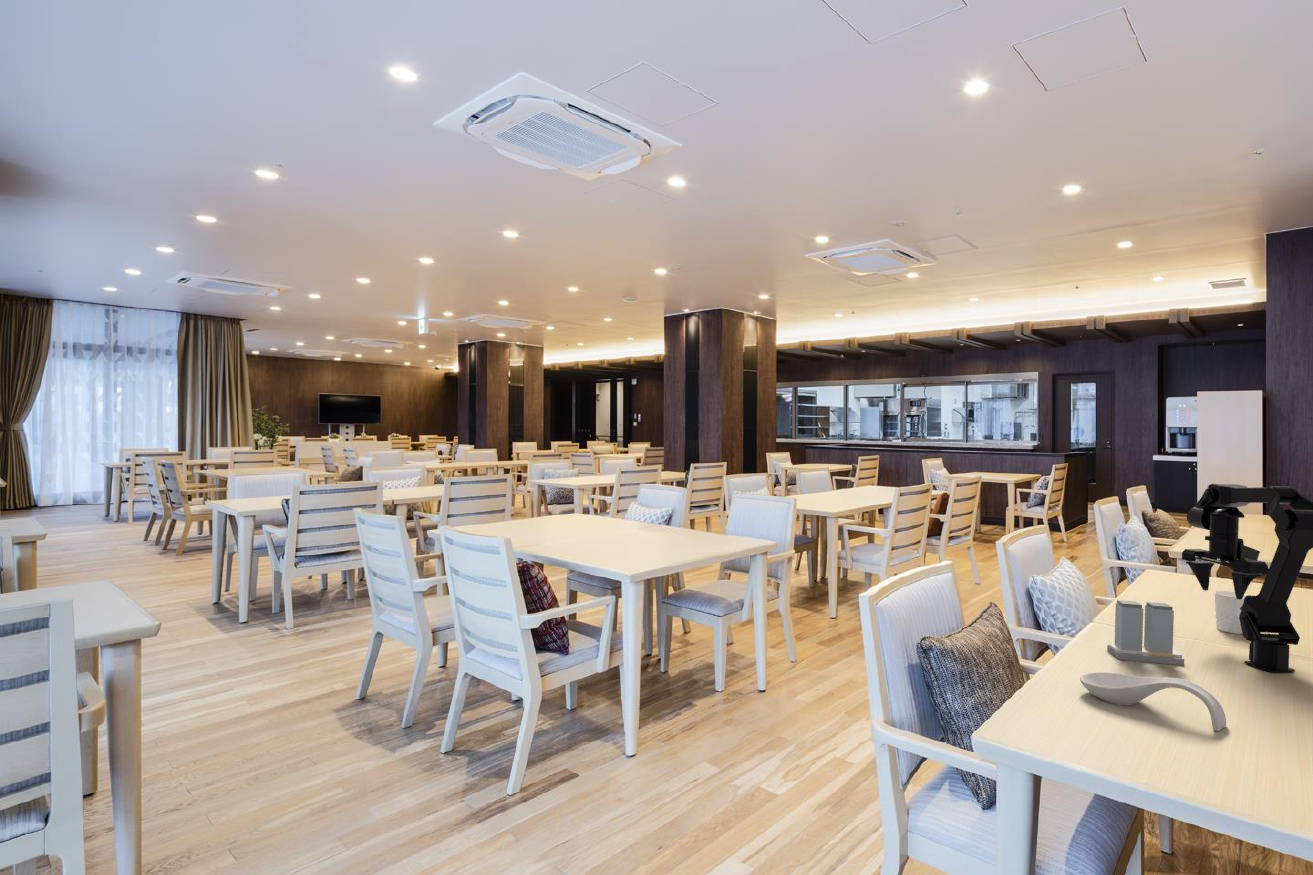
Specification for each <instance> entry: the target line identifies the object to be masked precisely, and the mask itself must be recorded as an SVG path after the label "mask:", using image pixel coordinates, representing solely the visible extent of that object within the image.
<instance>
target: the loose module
mask: <svg viewBox="0 0 1313 875" xmlns="http://www.w3.org/2000/svg"><path fill="white" fill-rule="evenodd" d="M1174 619H1175V611H1174V608H1173V606H1171V605H1170V604H1167V603H1164V602H1152V601H1151V602H1150V601H1147V602H1146V604H1145V605H1144V625H1143V628H1144V629H1143V633H1144V634H1143V635H1144V636H1143V647H1145V648H1146V649H1147V650H1149V651H1150V652H1155V653H1167V654H1173V650H1174V622H1175V621H1174Z"/></svg>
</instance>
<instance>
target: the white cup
mask: <svg viewBox="0 0 1313 875" xmlns="http://www.w3.org/2000/svg"><path fill="white" fill-rule="evenodd" d="M1247 595H1248V596H1251V595H1250V594H1247V593H1245V594H1244V596H1243V598H1242V599H1237V598H1236V595H1235V591H1227V590H1224V591H1223V590H1217V591H1215V592H1214V607H1215V608H1214V609H1215V610H1214V611H1215V619H1216V620H1215V626H1216V629H1217V630H1219V631H1221V632H1224V633H1228V634H1229V633H1230V634H1235V635H1236V634H1237V635H1243V634H1242V629H1241V624H1240V619H1239V616H1240V613H1241V611H1242V610H1240V608H1241V607H1242V605H1243V602H1244V598H1245V597H1246V596H1247Z"/></svg>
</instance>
